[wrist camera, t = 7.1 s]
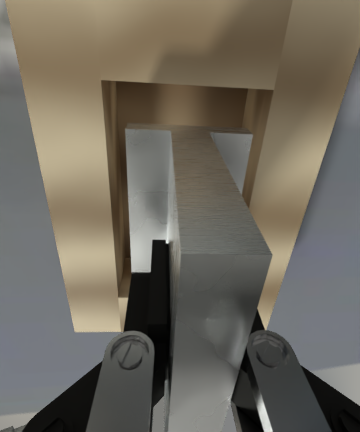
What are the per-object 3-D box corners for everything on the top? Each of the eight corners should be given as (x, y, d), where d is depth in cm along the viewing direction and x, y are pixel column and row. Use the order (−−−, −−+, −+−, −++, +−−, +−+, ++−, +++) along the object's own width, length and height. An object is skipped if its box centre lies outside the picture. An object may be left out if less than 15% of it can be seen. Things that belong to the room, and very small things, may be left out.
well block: (44, -13, 14) (-3, -36, 10) (320, 9, 15) (376, -5, 11) (89, 286, 24) (74, 332, 20) (249, 287, 25) (265, 330, 21)
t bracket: (127, 122, 12) (68, 252, 4) (246, 128, 12) (374, 256, 5) (134, 294, 17) (112, 484, 10) (217, 294, 17) (256, 477, 10)
